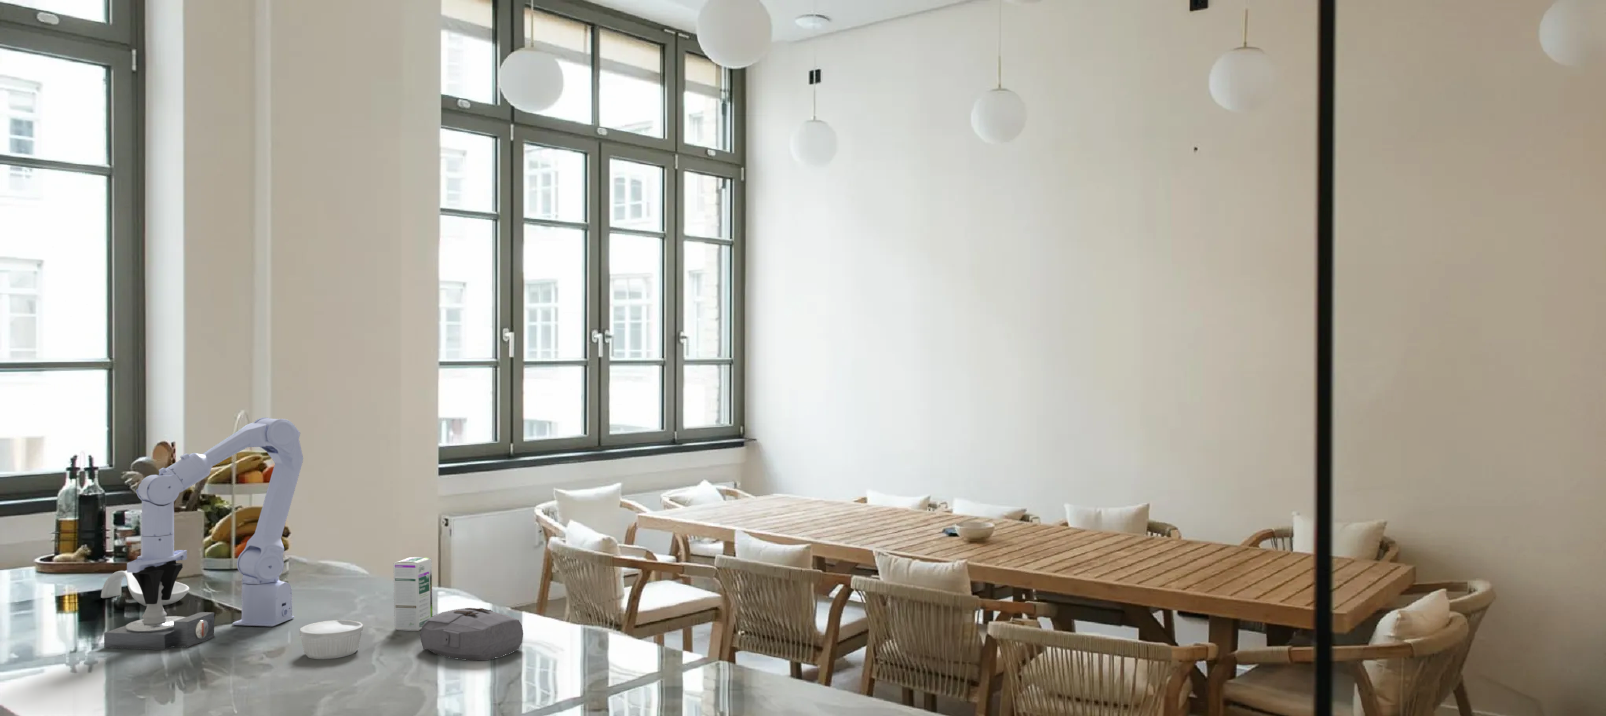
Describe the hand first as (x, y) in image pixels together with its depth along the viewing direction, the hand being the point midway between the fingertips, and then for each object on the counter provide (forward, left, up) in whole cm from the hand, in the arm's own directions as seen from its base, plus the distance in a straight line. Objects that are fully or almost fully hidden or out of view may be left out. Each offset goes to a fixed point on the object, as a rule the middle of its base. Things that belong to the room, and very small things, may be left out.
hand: (157, 601), depth 222 cm
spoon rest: (+29, -32, -8) cm, 44 cm away
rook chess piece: (+1, 0, -4) cm, 4 cm away
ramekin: (-40, +4, -8) cm, 41 cm away
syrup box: (-46, -17, -8) cm, 50 cm away
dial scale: (-2, 0, -8) cm, 8 cm away
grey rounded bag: (-65, -2, -8) cm, 66 cm away
